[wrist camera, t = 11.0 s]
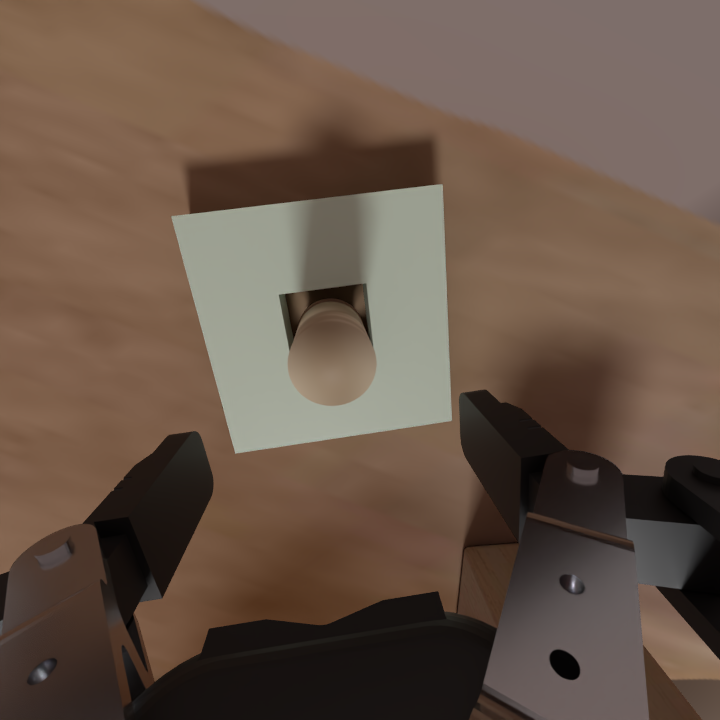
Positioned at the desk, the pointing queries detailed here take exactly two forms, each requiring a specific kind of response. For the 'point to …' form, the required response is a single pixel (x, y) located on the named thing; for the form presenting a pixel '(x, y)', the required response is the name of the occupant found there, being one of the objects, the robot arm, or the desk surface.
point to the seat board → (312, 272)
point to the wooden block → (485, 602)
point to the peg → (331, 354)
